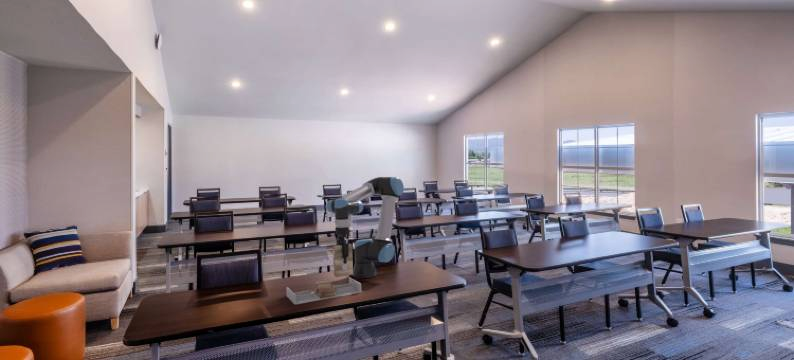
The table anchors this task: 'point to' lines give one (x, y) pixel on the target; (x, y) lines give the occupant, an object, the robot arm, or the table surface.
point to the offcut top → (323, 285)
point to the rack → (311, 296)
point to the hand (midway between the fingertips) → (343, 268)
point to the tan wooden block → (338, 261)
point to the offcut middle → (326, 290)
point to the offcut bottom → (324, 294)
